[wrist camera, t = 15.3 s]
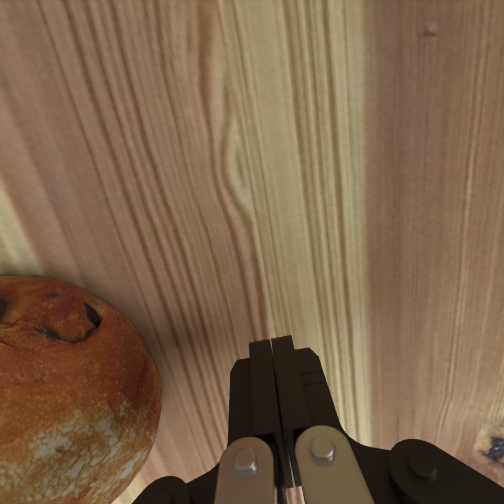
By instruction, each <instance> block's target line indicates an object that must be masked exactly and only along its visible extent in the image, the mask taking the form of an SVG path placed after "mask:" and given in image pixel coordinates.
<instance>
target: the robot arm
mask: <svg viewBox="0 0 504 504" xmlns="http://www.w3.org/2000/svg"><path fill="white" fill-rule="evenodd" d="M271 342H272V348H271V343H270V339H266V340H260V341H255V342H249V353H250V358H246V359H240V360H236V362H235V364H234V366H233V368H232V370H231V372H230V399H229V426H228V444H227V448H226V450H225V451H224V453H223V454H222V456H221V459H220V462H219V463H218V464H217V465H216V466H215V467H214V468H213V469H211V470H210V471H209V472H207V473H206V474H204V475H202V476H200V477H198V478H196V479H194V480H192V481H190V482H188V483H185V482H184V481H183V480H182V479H180V478H178V477H175V476H166V477H162V478H159V479H157V480H155V481H154V482H152V483H151V484H150V485H148V486H147V487H146V488H145V489H144V490H143V491H142V492H141V494H140V495H139V496H138V497H137V498H136V499H135V501H134V502H133V503H132V504H288V503H287V495H286V488H293V481H292V474H291V467H292V471H293V476H294V481H295V485H296V487H298V486H302V491H303V496H304V501H305V504H504V488H503V487H502V486H500V485H498V484H497V483H495V482H493V481H492V480H490V479H489V478H487V477H485V476H484V475H482V474H480V473H479V472H477V471H475V470H474V469H472V468H471V467H469V466H467V465H466V464H464V463H462V462H461V461H459V460H458V459H456V458H454V457H453V456H451V455H449V454H448V453H446V452H445V451H443V450H441V449H440V448H438V447H436V446H435V445H433V444H431V443H428V442H426V441H423V440H418V439H407V440H403V441H401V442H398V443H397V444H396V445H395V446H394V447H393V448H392V449H391V450H385V449H379V448H373V447H368V446H365V445H362V444H360V443H358V442H356V441H354V440H353V439H352V438H350V437H349V436H348V435H347V434H346V433H345V431H344V430H343V428H342V427H341V424H340V422H339V419H338V416H337V413H336V410H335V406H334V403H333V400H332V397H331V394H330V391H329V388H328V385H327V382H326V378H325V375H324V372H323V369H322V366H321V363H320V360H319V357H318V356H317V355H316V354H315V353H314V352H313V351H312V350H311V349H310V348H303V349H297V350H295V349H294V345H293V340H292V336H291V335H289V336H283V337H277V338H271ZM272 349H273V353H272ZM273 356H274V358H273ZM289 457H290V459H289ZM290 462H291V467H290Z"/></svg>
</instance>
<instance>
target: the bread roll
mask: <svg viewBox="0 0 504 504" xmlns="http://www.w3.org/2000/svg"><path fill="white" fill-rule="evenodd" d="M161 394H162V389H161V383H160V378H159V373H158V371H157V369H156V367H155V365H154V361H153V358H152V357H151V356H150V354H149V353H148V350H147V347H146V345H145V344H144V342H143V340H142V339H141V337H140V336H139V334H138V332H137V331H136V329H135V327H134V326H133V325H132V324H131V322H130V321H129V320H128V319H127V317H126V316H124V315H123V314H122V313H120V312H119V311H118V310H116V309H115V308H114V307H112V306H111V305H110V304H108V303H107V302H105V301H104V300H102V299H101V298H99V297H97V296H96V295H94V294H93V293H91V292H89V291H88V290H86V289H84V288H81V287H78V286H75V285H72V284H69V283H66V282H62V281H58V280H54V279H50V278H46V277H41V276H22V275H16V276H0V504H111V503H112V502H113V501H114V500H115V499H116V498H118V497H119V496H120V495H121V494H122V493H123V491H124V490H125V489H126V488H127V487H128V486H129V484H130V483H131V482H132V480H133V479H134V478H135V476H136V475H137V474H138V472H139V471H140V470H141V469H142V467H143V465H144V463H145V462H146V460H147V457H148V455H149V453H150V451H151V448H152V446H153V444H154V440H155V437H156V433H157V429H158V425H159V420H160V415H161V407H162V406H161Z"/></svg>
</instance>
